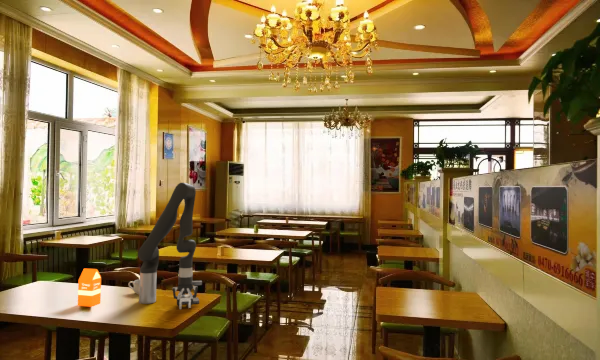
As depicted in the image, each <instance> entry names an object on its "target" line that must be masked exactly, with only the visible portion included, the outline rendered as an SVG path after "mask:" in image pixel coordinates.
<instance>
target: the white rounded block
mask: <svg viewBox="0 0 600 360" xmlns="http://www.w3.org/2000/svg"><path fill="white" fill-rule="evenodd" d="M187 301H188V304H187V308H188V309H189V308H192V307H191V306H192V305H191V296H190V295H189V293H188V294H184V295H181V296H180V298H179V306H178V308H179V310H182V306H183V304H182V302H187Z"/></svg>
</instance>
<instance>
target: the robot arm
mask: <svg viewBox="0 0 600 360" xmlns="http://www.w3.org/2000/svg"><path fill="white" fill-rule="evenodd" d="M172 191H173V192H172V194H171V196H170V198H169V200H168V203H167V204H166V206H165V208H164V209H163V211H162V212H161V214H160V216H159V217H158V219H157V221H156V222H155V225H154V226H153V228H152V230H151V231H150V234H149V235H148V237H147V238H146V240H145V241H144V242H143V243H142V245H141V246H140V247H139V249H138V253H137V255H138V258H139V260H140V261H142V265H141V267H140V268H139V279H140V286H139V294H138V304H143V305H144V304H146V305H147V304H154V303H155V302H157V280H158V279H157V273H158V272H157V271H158V267H159V263H160V262H159V261H160V251H159V250H160V249H159V248H158V246H159V244H160V242H162V240H163V239H164V238H165V237H166V236H167V235H168V234H169V233H170V232H171V230H172V229H173V228H174V226H175V224H176V222H177V219H178V210H179V206H180V205H181V203H182V201H183V202H184V208H183V210H182V214H181V216H180V219H179V236H178V240H177V243H176V251H177V252H178V253H180V254H181V253H182V254H184V253H185V254H186V253H187V255H185V256H181V257H180V258H179V267H178V269H179V270H178V282H177V283H178V284H177V285H178V286H173V287H172V294H173V299H175V300H176V305H177V307H179V298H180V296H181V295H182V294H189V295H190V296H191V306H192V305H194V304H193V298H197V296H198V295H197V294H198V290H199V287H198V285H192V281H193V258H194V254H195V251H196V248H197V243H196V241H195V240H194V239H185V237H190V236H192V235H193V232H194V231H193V230H194V229H193V217H194V208H195V200H196V195H197V190H196V188H195V186H194V185H193V184H190V183H187V182H179V183H178V184H177V185H176V186H175V188H174V190H172ZM177 290H178V291H179V292H178V295H177V294H176V292H177ZM192 290H194V291H193V292H194V294H192Z"/></svg>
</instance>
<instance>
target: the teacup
mask: <svg viewBox="0 0 600 360" xmlns="http://www.w3.org/2000/svg"><path fill="white" fill-rule="evenodd" d="M131 284H132V285H133V287H132V286H131ZM127 286H128V287H129V289H131V290H132V291H133V292H134V293H136V295H139V286H140V278H139V279H135V280H134V281H133V280H132V281H131V280H130V281H129V282H128V285H127Z"/></svg>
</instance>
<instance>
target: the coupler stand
mask: <svg viewBox="0 0 600 360" xmlns="http://www.w3.org/2000/svg"><path fill="white" fill-rule="evenodd" d="M192 285H193V286H202V285H203V281H202V280H192ZM182 295H184V294H182ZM195 304H196V305H197V304H200V299H199V297H197V296H196V298H193V304H192V305H195ZM182 305H188V301H187V302H182Z"/></svg>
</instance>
